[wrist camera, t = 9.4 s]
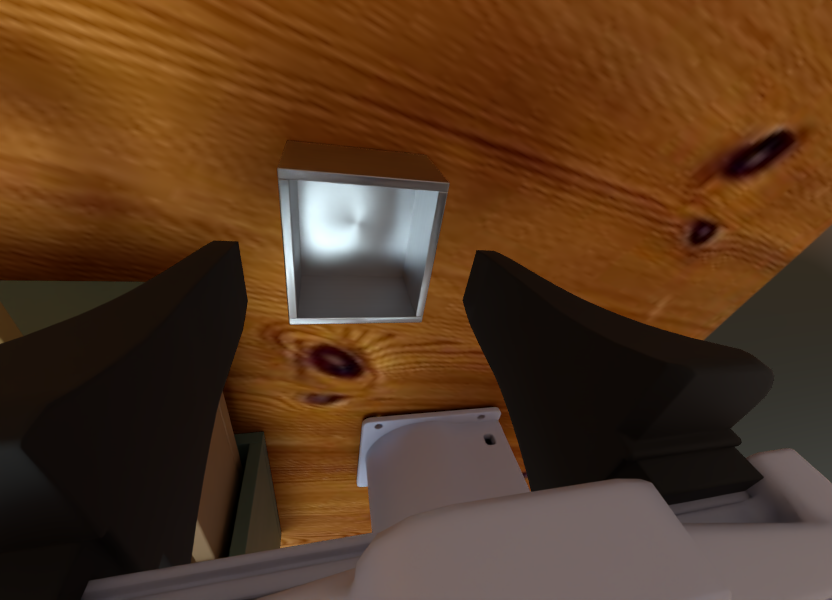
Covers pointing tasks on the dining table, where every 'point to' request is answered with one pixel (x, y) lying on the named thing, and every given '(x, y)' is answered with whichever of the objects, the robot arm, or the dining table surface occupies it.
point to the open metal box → (358, 232)
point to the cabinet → (254, 500)
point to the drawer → (60, 300)
